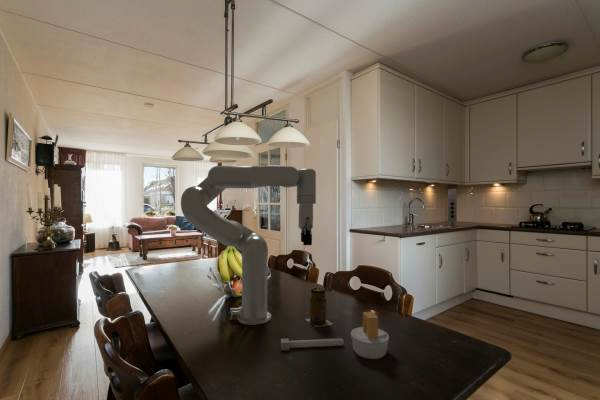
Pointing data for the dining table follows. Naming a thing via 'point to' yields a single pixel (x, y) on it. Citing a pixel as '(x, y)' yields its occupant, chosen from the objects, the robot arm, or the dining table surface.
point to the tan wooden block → (370, 324)
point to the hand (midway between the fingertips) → (306, 243)
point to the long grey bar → (310, 343)
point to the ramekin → (369, 343)
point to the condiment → (318, 308)
